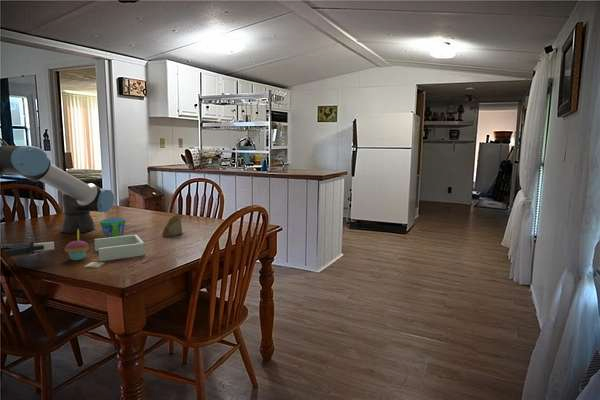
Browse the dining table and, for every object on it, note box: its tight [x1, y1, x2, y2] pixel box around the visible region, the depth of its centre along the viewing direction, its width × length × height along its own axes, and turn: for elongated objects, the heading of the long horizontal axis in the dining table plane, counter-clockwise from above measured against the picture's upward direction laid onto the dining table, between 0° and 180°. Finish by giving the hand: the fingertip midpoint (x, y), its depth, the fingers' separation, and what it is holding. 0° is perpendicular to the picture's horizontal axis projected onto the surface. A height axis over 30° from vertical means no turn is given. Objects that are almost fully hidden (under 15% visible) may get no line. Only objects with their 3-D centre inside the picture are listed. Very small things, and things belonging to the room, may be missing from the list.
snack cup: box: [99, 217, 127, 238], centre depth 182 cm, size 16×10×10 cm
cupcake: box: [64, 228, 90, 261], centre depth 156 cm, size 9×8×12 cm
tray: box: [93, 234, 146, 262], centre depth 165 cm, size 17×17×5 cm
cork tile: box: [83, 261, 106, 269], centre depth 148 cm, size 5×5×1 cm
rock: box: [161, 214, 183, 237], centre depth 197 cm, size 11×9×10 cm
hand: (54, 245), depth 152 cm, fingers closed
